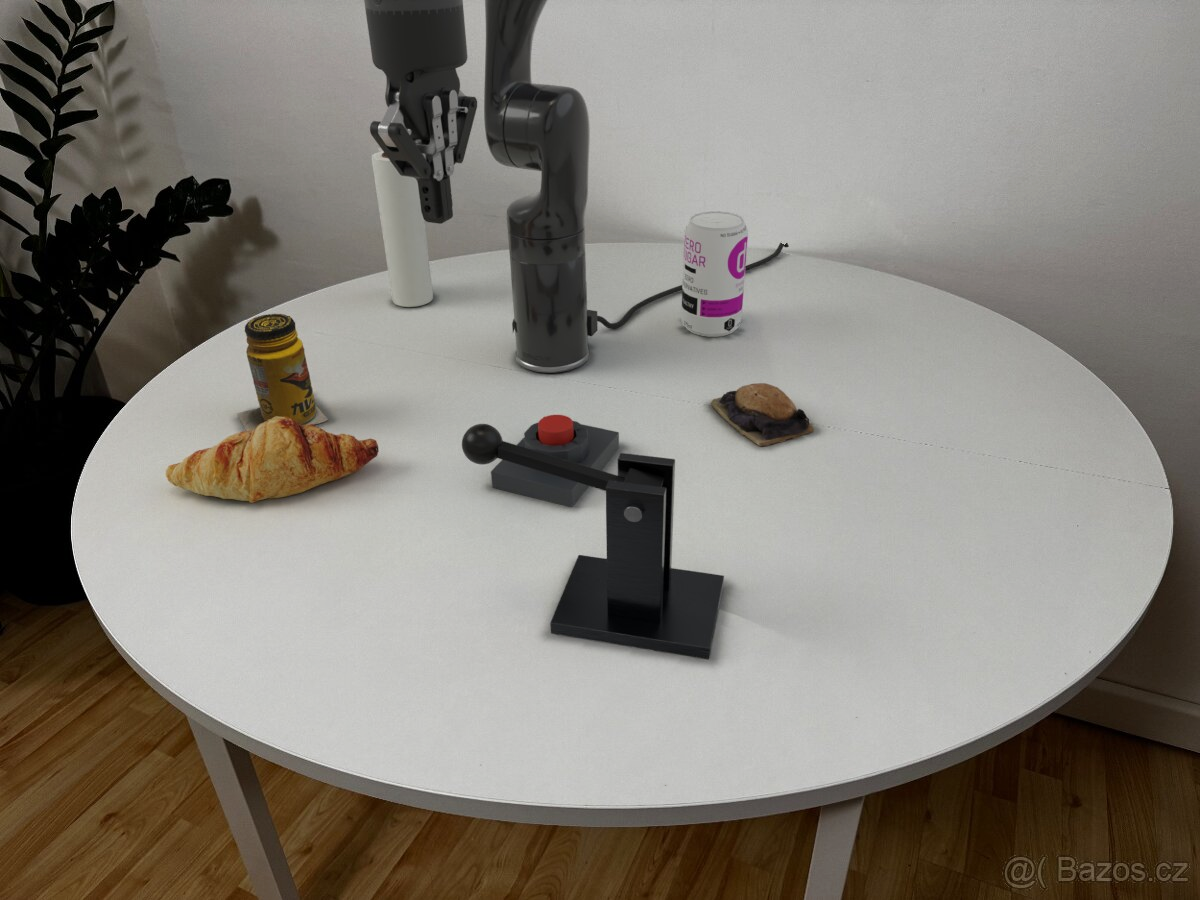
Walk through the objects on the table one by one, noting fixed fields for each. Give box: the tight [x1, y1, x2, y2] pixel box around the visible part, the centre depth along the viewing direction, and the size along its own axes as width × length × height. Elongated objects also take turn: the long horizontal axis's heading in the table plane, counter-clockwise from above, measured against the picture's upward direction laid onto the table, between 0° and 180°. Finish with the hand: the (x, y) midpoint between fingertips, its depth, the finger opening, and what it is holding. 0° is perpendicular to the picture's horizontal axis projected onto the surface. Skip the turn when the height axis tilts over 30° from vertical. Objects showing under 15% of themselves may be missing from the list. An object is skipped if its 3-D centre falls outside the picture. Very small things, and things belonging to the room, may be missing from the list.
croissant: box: [165, 416, 380, 504], centre depth 91 cm, size 21×10×8 cm, turn 102°
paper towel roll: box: [371, 147, 434, 308], centre depth 128 cm, size 7×6×21 cm
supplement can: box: [680, 210, 749, 338], centre depth 119 cm, size 8×8×15 cm
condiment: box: [236, 313, 329, 431], centre depth 100 cm, size 7×8×12 cm
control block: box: [490, 416, 620, 508], centre depth 93 cm, size 12×9×4 cm
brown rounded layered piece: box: [710, 382, 815, 447], centre depth 101 cm, size 11×8×4 cm
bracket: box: [549, 452, 725, 660], centre depth 72 cm, size 13×9×14 cm
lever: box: [461, 423, 664, 492], centre depth 70 cm, size 16×3×3 cm, turn 76°
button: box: [537, 414, 574, 446], centre depth 92 cm, size 4×4×2 cm
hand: (438, 220), depth 79 cm, fingers closed
